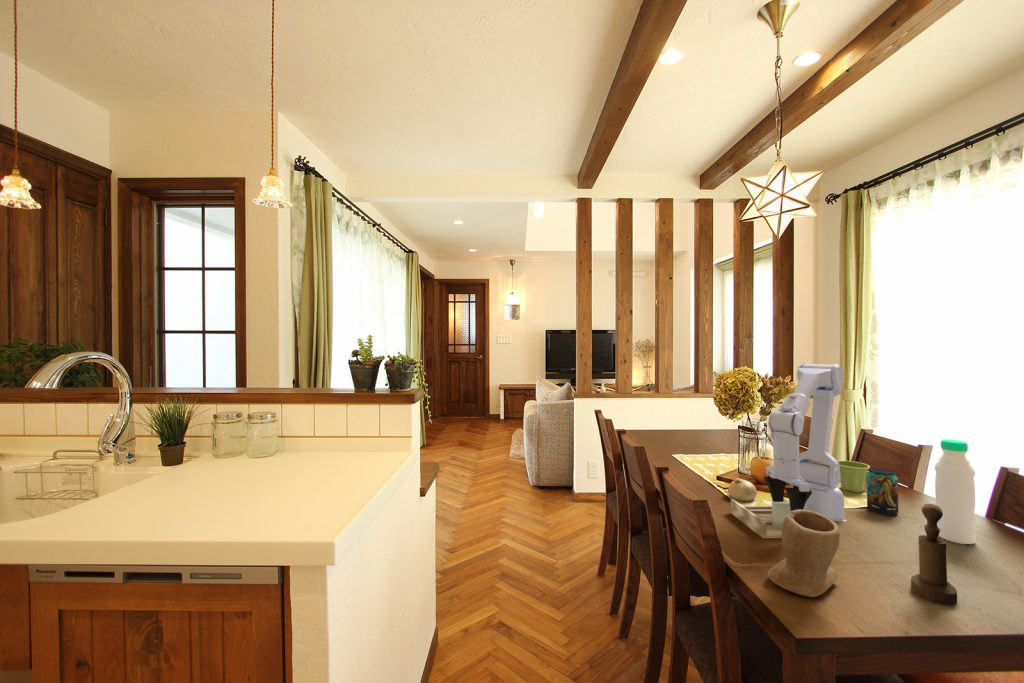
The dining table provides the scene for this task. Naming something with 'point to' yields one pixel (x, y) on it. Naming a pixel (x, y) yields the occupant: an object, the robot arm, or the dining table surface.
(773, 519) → the panel
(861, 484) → the plant pot
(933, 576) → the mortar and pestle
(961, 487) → the white bottle
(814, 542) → the stone cup
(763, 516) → the offcut upper
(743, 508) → the rack
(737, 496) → the onion
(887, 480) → the printed food package
